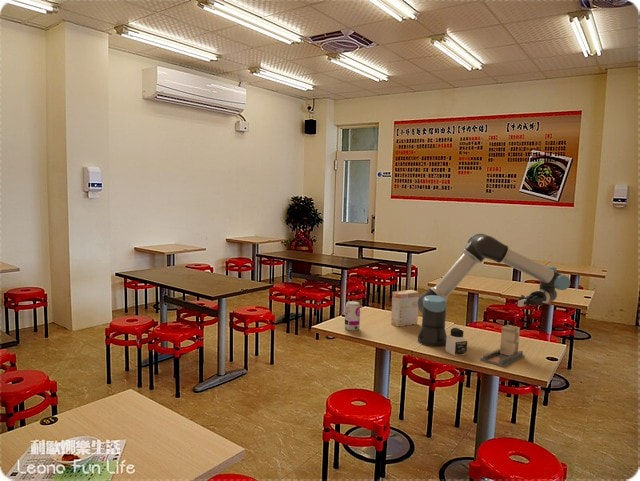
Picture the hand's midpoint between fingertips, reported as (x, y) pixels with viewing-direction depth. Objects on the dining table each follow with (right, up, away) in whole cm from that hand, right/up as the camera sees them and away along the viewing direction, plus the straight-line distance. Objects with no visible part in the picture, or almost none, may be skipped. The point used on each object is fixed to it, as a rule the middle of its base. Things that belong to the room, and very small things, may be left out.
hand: (519, 303), depth 227 cm
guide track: (-11, -25, -7) cm, 28 cm away
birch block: (-6, -24, -3) cm, 25 cm away
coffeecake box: (-47, -19, +49) cm, 70 cm away
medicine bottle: (-31, -24, -1) cm, 39 cm away
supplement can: (-79, -19, +34) cm, 88 cm away
